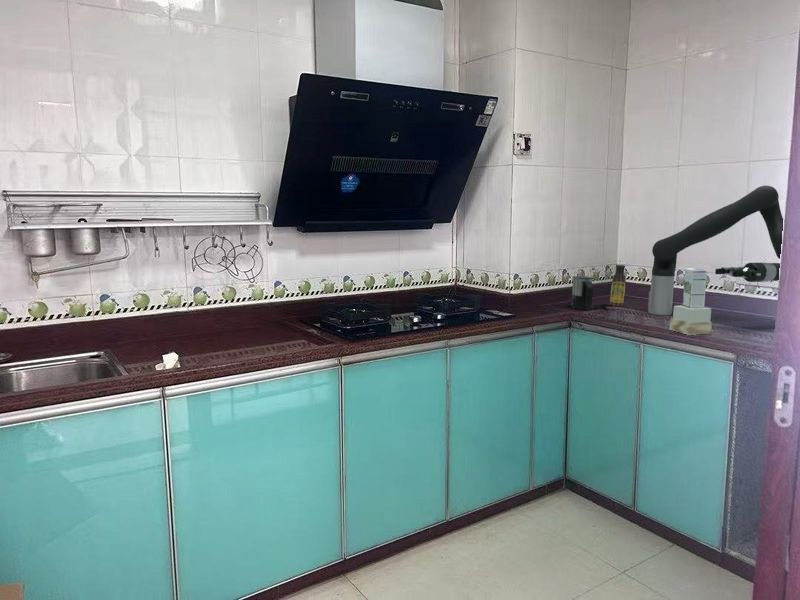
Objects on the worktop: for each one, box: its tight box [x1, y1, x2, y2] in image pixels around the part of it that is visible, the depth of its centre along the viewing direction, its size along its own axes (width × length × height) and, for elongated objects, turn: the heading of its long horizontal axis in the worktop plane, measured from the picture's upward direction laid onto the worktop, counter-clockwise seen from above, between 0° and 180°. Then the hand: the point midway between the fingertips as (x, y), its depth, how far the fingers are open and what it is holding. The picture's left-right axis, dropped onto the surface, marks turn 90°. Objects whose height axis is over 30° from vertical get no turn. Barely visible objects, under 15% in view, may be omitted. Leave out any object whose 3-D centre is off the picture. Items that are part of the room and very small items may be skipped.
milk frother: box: [570, 275, 611, 310], centre depth 279 cm, size 14×16×15 cm
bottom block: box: [669, 317, 713, 336], centre depth 226 cm, size 10×10×5 cm
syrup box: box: [682, 267, 708, 308], centre depth 224 cm, size 6×6×14 cm
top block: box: [672, 304, 712, 323], centre depth 225 cm, size 9×9×5 cm
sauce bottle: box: [609, 264, 627, 307], centre depth 287 cm, size 7×6×20 cm
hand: (724, 272), depth 228 cm, fingers open, 8 cm apart
